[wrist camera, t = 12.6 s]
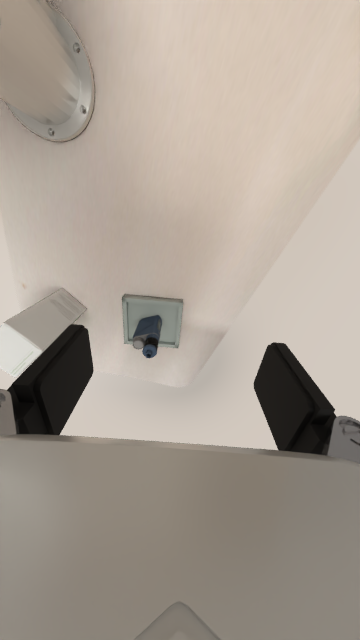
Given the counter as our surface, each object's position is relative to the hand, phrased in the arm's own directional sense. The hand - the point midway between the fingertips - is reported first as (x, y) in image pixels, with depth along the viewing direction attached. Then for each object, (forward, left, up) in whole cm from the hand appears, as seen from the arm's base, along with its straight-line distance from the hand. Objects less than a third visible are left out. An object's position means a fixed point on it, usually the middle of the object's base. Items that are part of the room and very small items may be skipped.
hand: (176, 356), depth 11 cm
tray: (+15, -5, -30) cm, 34 cm away
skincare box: (+14, -24, -30) cm, 41 cm away
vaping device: (+15, -5, -30) cm, 33 cm away
